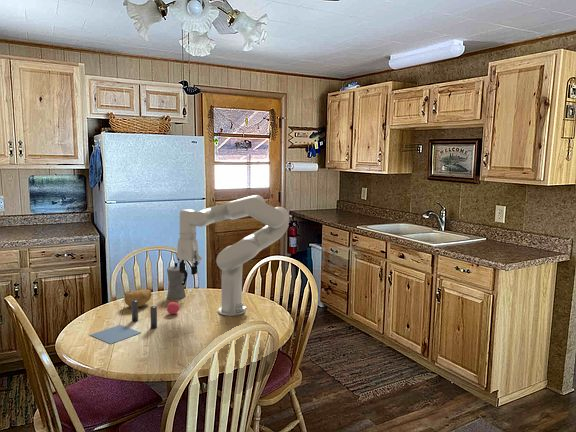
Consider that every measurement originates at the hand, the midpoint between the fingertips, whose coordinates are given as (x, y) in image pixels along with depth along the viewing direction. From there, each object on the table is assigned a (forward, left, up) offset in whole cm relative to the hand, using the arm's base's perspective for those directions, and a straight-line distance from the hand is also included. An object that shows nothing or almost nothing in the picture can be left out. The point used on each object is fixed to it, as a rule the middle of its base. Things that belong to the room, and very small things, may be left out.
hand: (188, 272), depth 211 cm
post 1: (+6, +26, -18) cm, 32 cm away
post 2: (-6, +26, -18) cm, 32 cm away
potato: (+21, +13, -18) cm, 30 cm away
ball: (0, +10, -15) cm, 18 cm away
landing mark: (0, +40, -18) cm, 43 cm away
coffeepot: (+17, -8, -18) cm, 26 cm away
